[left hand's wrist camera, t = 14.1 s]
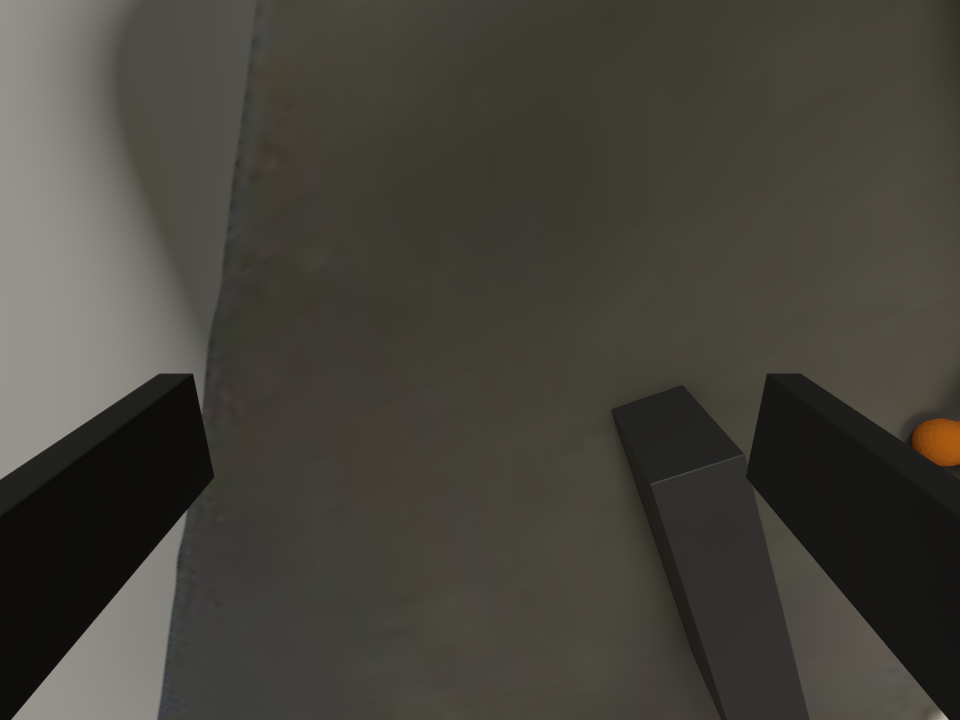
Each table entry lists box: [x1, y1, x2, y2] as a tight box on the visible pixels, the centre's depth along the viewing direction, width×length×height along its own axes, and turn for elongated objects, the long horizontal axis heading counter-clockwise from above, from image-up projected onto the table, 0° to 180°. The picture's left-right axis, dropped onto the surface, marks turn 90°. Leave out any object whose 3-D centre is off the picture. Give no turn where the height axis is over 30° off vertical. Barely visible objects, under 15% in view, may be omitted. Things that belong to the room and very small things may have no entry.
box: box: [612, 386, 809, 720], centre depth 43 cm, size 29×6×11 cm, turn 21°
